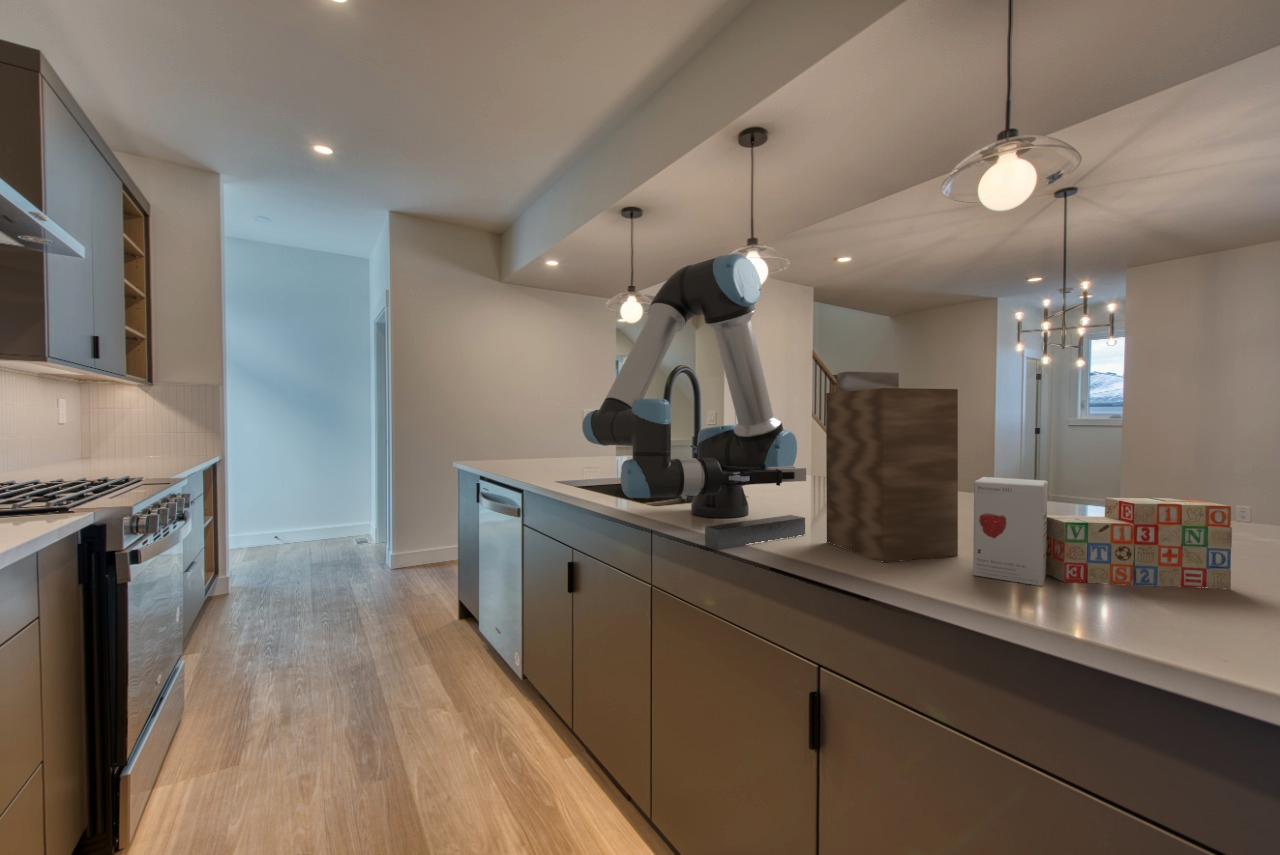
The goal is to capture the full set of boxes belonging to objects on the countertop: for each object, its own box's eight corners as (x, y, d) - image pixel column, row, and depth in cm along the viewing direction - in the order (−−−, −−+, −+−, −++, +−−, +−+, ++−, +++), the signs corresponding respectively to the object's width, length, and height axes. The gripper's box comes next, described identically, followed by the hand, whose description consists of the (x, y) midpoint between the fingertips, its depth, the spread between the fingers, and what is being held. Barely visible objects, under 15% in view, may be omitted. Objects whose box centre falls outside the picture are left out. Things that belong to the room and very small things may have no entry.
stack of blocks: (1063, 583, 79) (1063, 501, 79) (1040, 571, 86) (1040, 495, 85) (1232, 590, 76) (1232, 504, 75) (1195, 577, 82) (1195, 498, 82)
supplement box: (971, 576, 83) (971, 480, 83) (980, 564, 90) (980, 476, 90) (1044, 587, 77) (1044, 484, 77) (1048, 574, 84) (1048, 479, 84)
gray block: (805, 517, 113) (790, 514, 117) (718, 530, 101) (705, 526, 104) (805, 536, 113) (790, 533, 117) (718, 551, 101) (705, 546, 104)
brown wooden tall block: (826, 542, 107) (826, 373, 106) (892, 537, 111) (892, 374, 111) (883, 562, 91) (883, 364, 91) (957, 555, 96) (957, 366, 95)
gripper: (683, 490, 115) (779, 486, 121) (714, 501, 99) (823, 496, 106) (683, 456, 115) (779, 454, 121) (714, 461, 99) (823, 458, 106)
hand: (799, 473), depth 113 cm, fingers open, 3 cm apart
